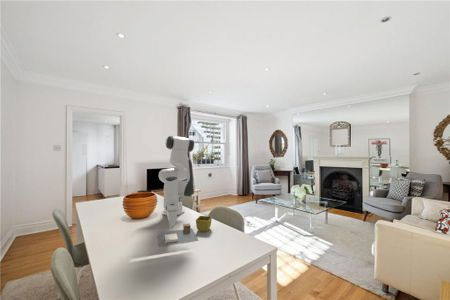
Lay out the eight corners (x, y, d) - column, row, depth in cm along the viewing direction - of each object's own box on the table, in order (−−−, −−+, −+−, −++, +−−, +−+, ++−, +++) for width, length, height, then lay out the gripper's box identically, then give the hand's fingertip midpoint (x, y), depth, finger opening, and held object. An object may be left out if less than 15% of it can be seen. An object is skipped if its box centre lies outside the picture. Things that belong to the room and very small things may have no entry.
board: (157, 234, 127) (157, 232, 127) (192, 230, 134) (192, 228, 134) (159, 248, 108) (159, 246, 108) (198, 242, 116) (198, 240, 116)
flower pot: (208, 234, 127) (208, 220, 127) (195, 233, 129) (195, 219, 129) (211, 229, 136) (211, 216, 136) (199, 228, 137) (199, 215, 138)
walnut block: (183, 230, 131) (183, 224, 131) (189, 229, 133) (189, 223, 133) (184, 232, 128) (184, 226, 128) (190, 231, 129) (190, 225, 129)
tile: (164, 234, 120) (165, 240, 112) (176, 233, 122) (177, 238, 115) (164, 237, 120) (165, 243, 112) (176, 235, 122) (177, 241, 115)
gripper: (164, 200, 128) (164, 222, 128) (167, 209, 109) (166, 234, 108) (174, 199, 130) (174, 220, 130) (178, 207, 111) (178, 232, 111)
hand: (170, 227), depth 119 cm, fingers closed
